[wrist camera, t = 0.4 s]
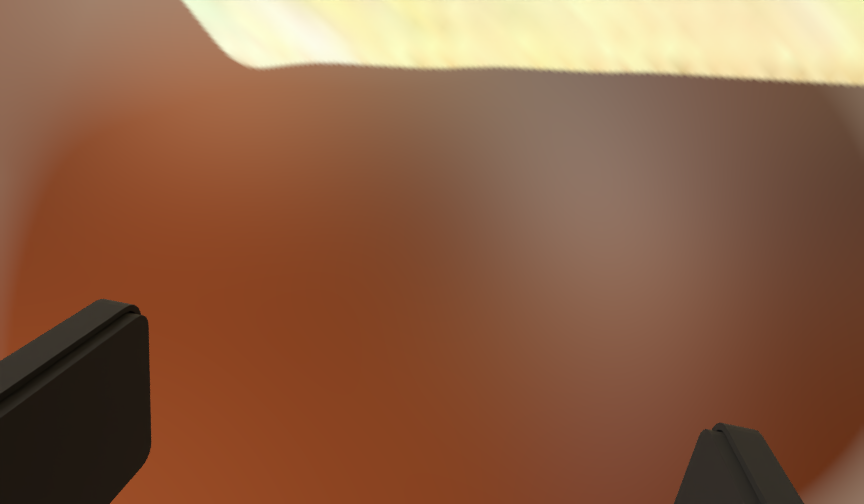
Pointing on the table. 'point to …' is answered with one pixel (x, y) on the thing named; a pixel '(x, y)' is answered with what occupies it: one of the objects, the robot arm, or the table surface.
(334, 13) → the table surface
